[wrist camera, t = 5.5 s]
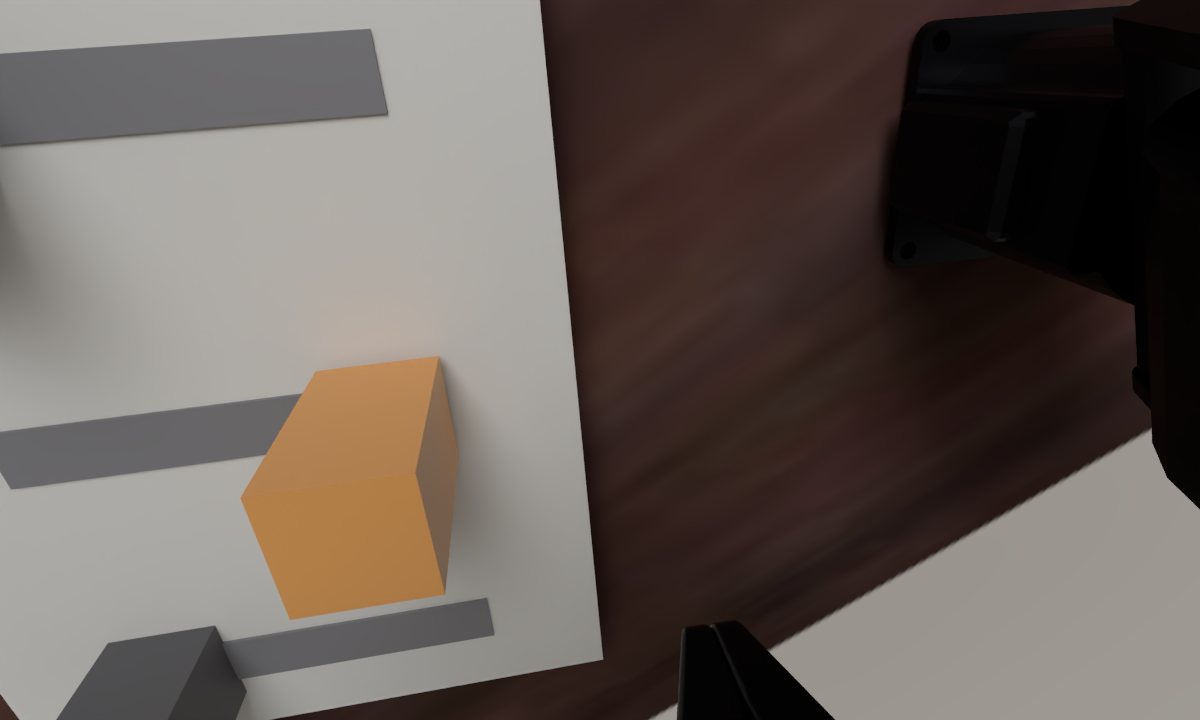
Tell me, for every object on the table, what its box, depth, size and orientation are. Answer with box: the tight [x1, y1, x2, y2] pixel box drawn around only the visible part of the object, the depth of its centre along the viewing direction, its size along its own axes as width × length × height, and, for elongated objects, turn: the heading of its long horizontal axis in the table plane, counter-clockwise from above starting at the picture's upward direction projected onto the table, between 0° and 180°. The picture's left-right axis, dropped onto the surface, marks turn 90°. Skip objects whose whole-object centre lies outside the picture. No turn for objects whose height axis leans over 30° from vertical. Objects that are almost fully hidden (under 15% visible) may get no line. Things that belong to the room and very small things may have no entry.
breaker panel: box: [0, 0, 603, 720], centre depth 14 cm, size 18×22×7 cm
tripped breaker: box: [240, 356, 459, 620], centre depth 14 cm, size 3×3×5 cm
